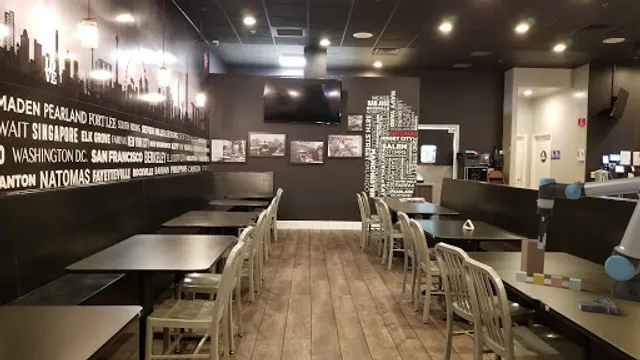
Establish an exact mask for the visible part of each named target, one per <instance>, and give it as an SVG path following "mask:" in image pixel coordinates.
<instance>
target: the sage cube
mask: <svg viewBox="0 0 640 360" xmlns="http://www.w3.org/2000/svg"><path fill="white" fill-rule="evenodd" d="M568 283H569V284H568V288H569V289H568V290H571V291H577V290H578V291H579V292H581V289H582V287H581V285H582V279H581V278H572V277H569V282H568Z"/></svg>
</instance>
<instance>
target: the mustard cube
mask: <svg viewBox="0 0 640 360" xmlns="http://www.w3.org/2000/svg"><path fill="white" fill-rule="evenodd" d="M532 284H533V285H537V286H544V285H545V274H538V273H534V274H533V276H532Z"/></svg>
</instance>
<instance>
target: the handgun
mask: <svg viewBox="0 0 640 360" xmlns="http://www.w3.org/2000/svg"><path fill="white" fill-rule="evenodd" d="M579 308H580V309H579ZM578 309H579V311H580V312H586V311H593V312H592V313H604V312H605V313H604V314H607V315H619V314H620V311H619V310H620V307H619V306H617V305H616V304H615V303H614V302H613V301H612V300H611V299H610V298H609V297H608V296H604V295H599V296H597V299H596V300H594V299H593V300H591V302H590V301H589V302H586V301H578Z"/></svg>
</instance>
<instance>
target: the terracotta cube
mask: <svg viewBox="0 0 640 360" xmlns="http://www.w3.org/2000/svg"><path fill="white" fill-rule="evenodd" d="M550 277H551V279H550V287H551V288H558V289H562V288H563V287H562V286H563V276H560V275H551V276H550Z"/></svg>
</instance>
